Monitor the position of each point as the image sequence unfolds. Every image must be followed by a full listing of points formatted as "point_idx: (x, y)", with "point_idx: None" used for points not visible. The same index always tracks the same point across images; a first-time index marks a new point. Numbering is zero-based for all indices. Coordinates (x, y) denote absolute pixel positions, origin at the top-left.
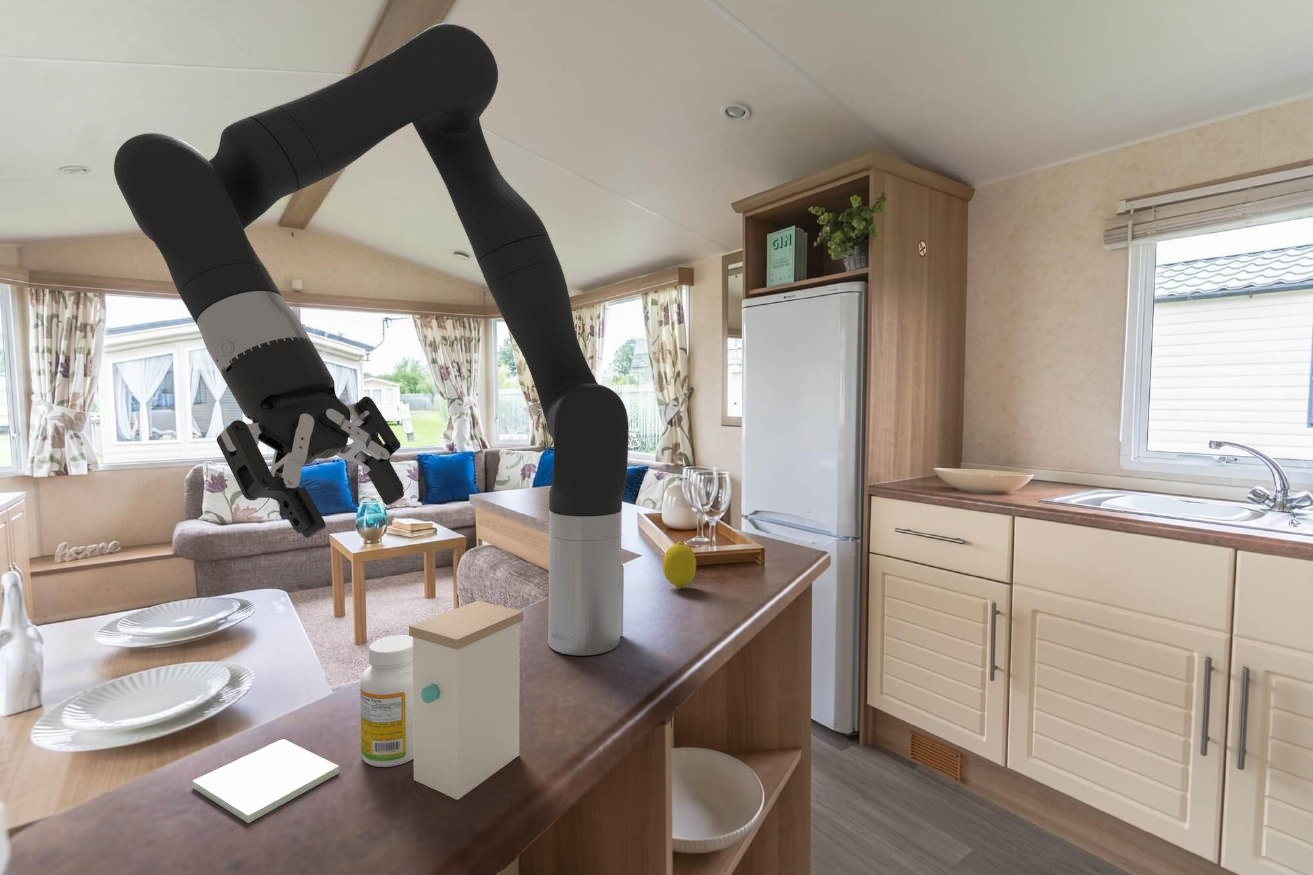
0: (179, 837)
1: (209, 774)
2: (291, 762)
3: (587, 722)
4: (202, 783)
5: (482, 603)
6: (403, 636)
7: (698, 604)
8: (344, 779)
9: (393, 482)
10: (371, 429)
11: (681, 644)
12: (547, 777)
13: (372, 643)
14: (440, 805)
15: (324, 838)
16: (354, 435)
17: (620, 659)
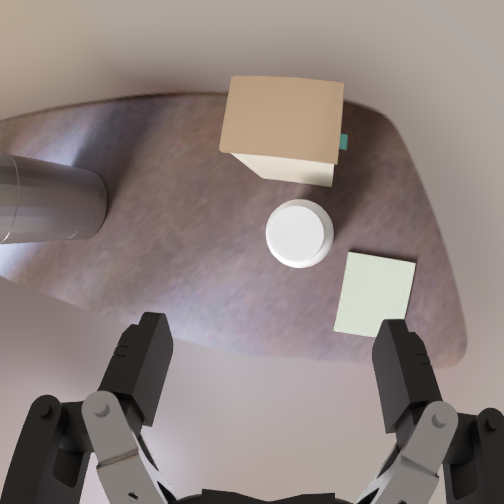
0: (436, 292)
1: None
2: (358, 293)
3: (204, 113)
4: None
5: (225, 136)
6: (274, 238)
7: None
8: (352, 240)
9: (146, 339)
10: (56, 492)
11: (68, 127)
12: None
13: (306, 258)
14: None
15: (405, 198)
16: (155, 497)
17: (101, 154)
